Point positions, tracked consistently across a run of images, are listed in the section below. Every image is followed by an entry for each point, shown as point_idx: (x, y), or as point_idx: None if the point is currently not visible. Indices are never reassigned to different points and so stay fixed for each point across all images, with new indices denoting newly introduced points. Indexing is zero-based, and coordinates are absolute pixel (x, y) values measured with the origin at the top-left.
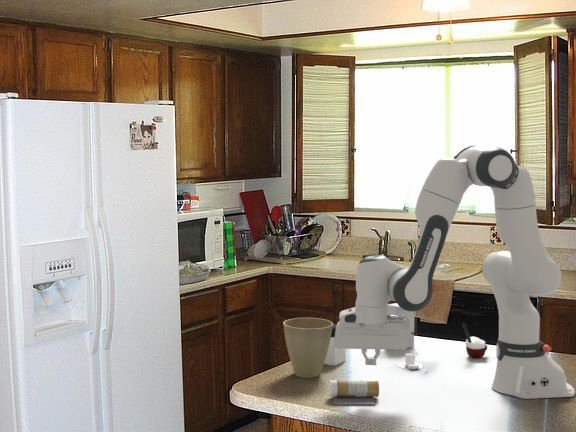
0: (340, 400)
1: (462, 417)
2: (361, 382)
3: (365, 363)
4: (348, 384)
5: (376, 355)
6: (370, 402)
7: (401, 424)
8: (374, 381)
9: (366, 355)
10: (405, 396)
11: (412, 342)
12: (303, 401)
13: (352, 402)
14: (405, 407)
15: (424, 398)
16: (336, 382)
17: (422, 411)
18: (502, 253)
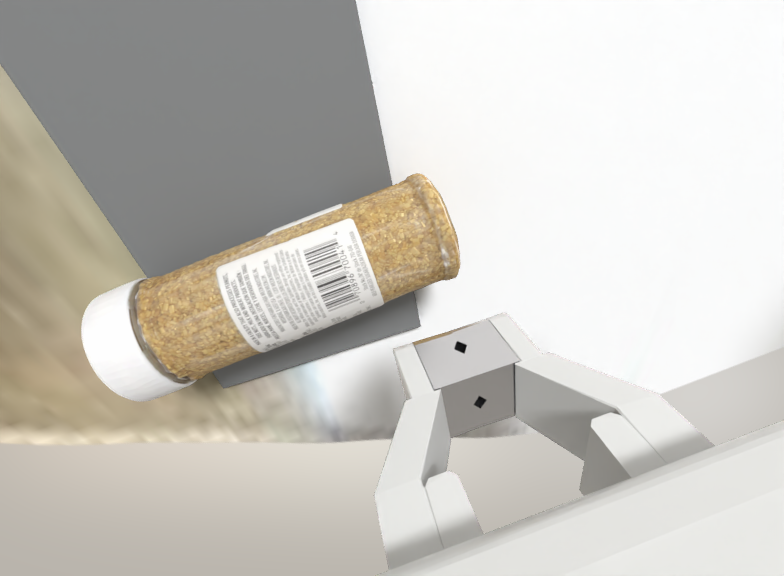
0: None
1: (714, 316)
2: (344, 310)
3: (402, 383)
4: (260, 352)
5: (568, 448)
6: (396, 314)
7: (513, 434)
8: (432, 256)
9: (439, 448)
10: (574, 116)
11: None
12: (27, 393)
13: (309, 346)
14: (546, 291)
15: (666, 124)
16: (170, 386)
17: (602, 310)
18: None
